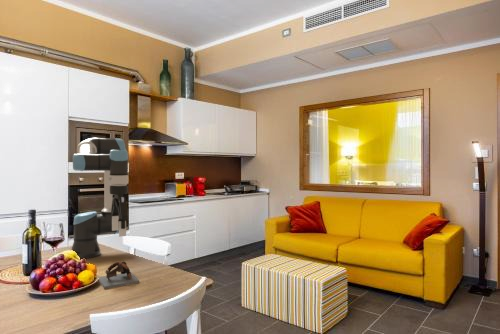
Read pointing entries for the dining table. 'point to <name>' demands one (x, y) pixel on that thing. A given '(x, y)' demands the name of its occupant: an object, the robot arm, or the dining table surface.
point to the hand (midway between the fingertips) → (118, 233)
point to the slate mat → (118, 280)
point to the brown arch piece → (118, 270)
